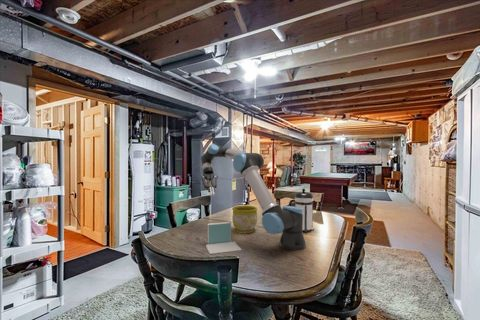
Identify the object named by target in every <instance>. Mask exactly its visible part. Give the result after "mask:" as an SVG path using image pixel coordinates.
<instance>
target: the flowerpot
mask: <svg viewBox="0 0 480 320" xmlns="http://www.w3.org/2000/svg"><path fill="white" fill-rule="evenodd" d="M231 209H232V216H231V217H232V224H233V226H234V230H235V231H236V232H237V233H239V234H251V233H253V232H254V231H255V230H256V229H255V228H256V226H257V223H258V207H257V206H253V205H236V206H233V207H232V208H231Z"/></svg>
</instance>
